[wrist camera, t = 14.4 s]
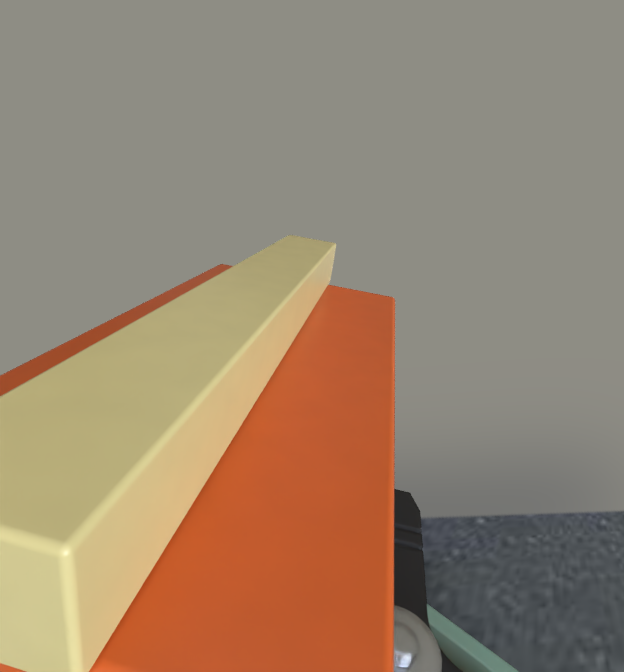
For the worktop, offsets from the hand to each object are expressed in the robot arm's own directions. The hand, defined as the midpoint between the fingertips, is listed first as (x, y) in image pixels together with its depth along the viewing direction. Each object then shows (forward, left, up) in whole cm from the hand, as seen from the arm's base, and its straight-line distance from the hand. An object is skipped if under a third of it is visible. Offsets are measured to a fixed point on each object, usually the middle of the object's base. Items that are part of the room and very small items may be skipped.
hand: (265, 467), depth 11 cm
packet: (+1, -2, -7) cm, 7 cm away
